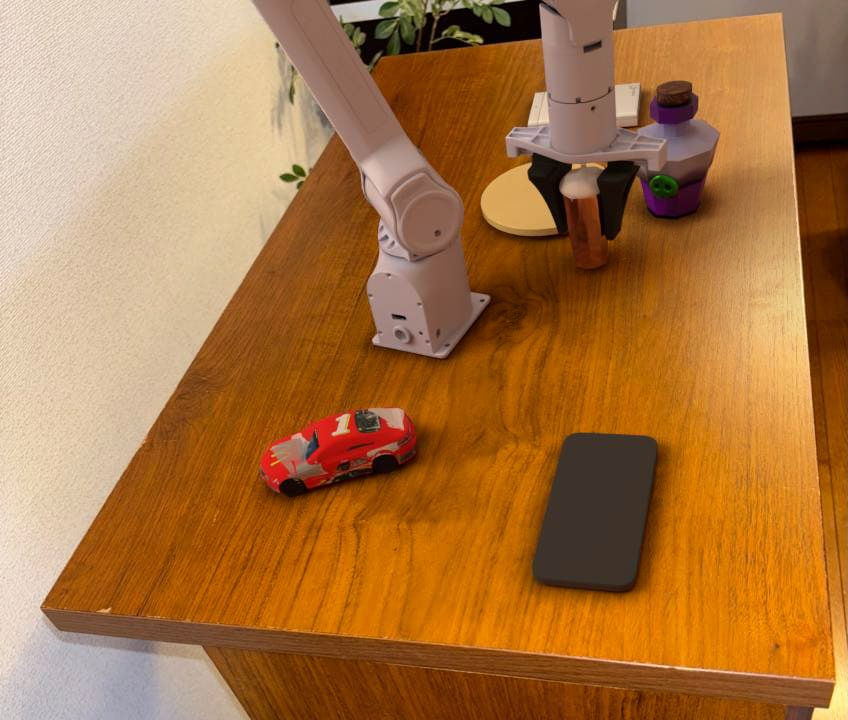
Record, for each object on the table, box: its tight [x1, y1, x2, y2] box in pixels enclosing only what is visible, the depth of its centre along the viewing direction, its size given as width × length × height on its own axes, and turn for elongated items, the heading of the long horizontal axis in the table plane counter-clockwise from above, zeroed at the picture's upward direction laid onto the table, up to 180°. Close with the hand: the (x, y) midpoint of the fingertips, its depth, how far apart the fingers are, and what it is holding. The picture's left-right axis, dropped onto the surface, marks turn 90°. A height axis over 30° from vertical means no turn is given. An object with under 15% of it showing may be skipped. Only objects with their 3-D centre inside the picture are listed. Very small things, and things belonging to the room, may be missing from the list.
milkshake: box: [559, 163, 609, 270], centre depth 91 cm, size 4×5×10 cm
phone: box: [531, 431, 659, 592], centre depth 73 cm, size 7×1×15 cm
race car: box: [259, 406, 419, 497], centre depth 80 cm, size 13×5×4 cm, turn 98°
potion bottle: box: [635, 79, 721, 220], centre depth 94 cm, size 9×9×12 cm
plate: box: [480, 161, 606, 237], centre depth 103 cm, size 14×14×1 cm
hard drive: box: [527, 82, 642, 128], centre depth 114 cm, size 2×8×12 cm
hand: (589, 231), depth 93 cm, fingers closed on milkshake, 4 cm apart
